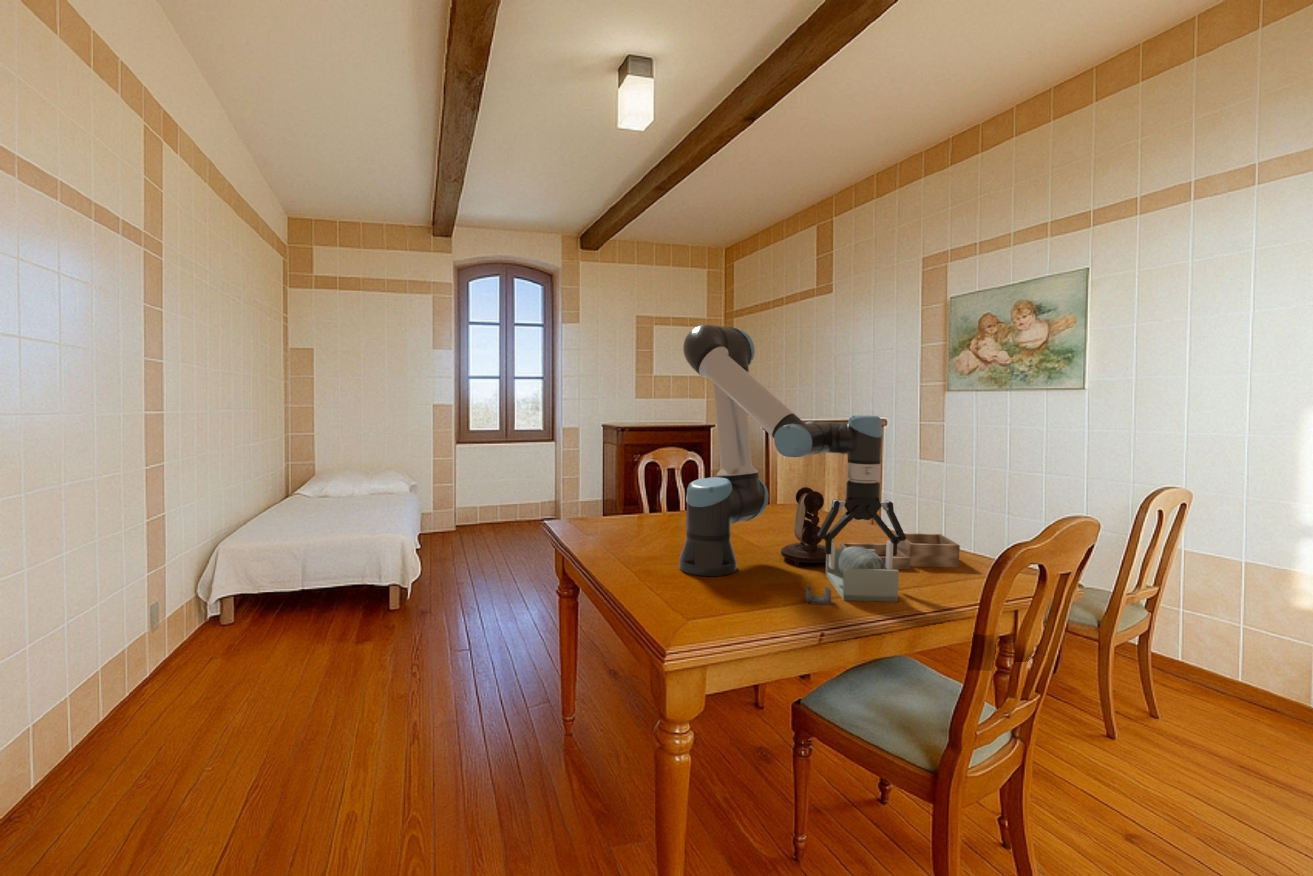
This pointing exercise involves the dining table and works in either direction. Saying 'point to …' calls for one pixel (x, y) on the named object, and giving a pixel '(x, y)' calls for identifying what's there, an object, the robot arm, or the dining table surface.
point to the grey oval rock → (859, 559)
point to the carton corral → (930, 550)
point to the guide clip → (818, 597)
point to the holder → (863, 582)
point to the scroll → (806, 529)
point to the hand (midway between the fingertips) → (860, 568)
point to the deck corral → (898, 561)
